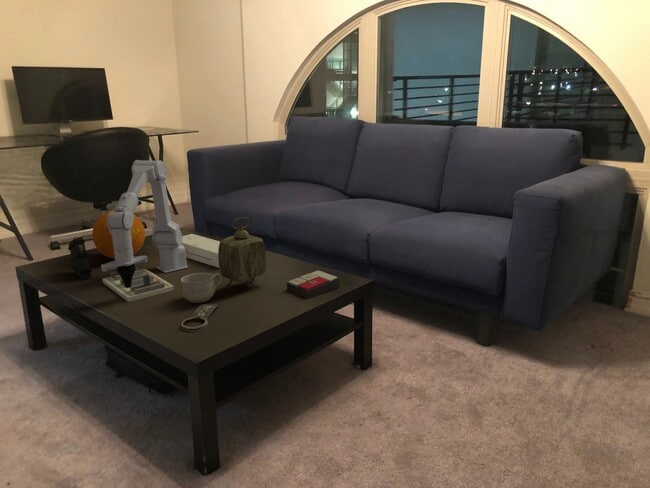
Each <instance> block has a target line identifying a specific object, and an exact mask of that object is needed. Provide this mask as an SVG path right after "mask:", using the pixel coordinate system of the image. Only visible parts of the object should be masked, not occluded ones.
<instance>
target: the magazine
mask: <svg viewBox="0 0 650 488" xmlns="http://www.w3.org/2000/svg"><path fill="white" fill-rule="evenodd" d="M85 243H86V239H84V238H83V236H81V237H75V238H73V239H72V240H71V241H70V243H69V244H68V248H67V250H68V251H69V252H70V260H71V261H72V267H71V269H72V270H73V273H74V274H75V275H77V276H78V277H79V278H80V279H82V280H83V281H85V280H90V279H91V278H92V268H90V267H91V266H90V262H89V256H90V255H89V253H88V252H87V249H86V245H85Z"/></svg>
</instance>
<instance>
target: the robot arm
mask: <svg viewBox="0 0 650 488" xmlns="http://www.w3.org/2000/svg"><path fill="white" fill-rule="evenodd" d="M131 174H132V177H131V180H130V183H129V185H128V189H127V191H126V192H123V193H122V194H121V196H120V197H119V200H118V201H117V204H116V205H115V208H114V209H113V210H114V211H112V210H111V211H112V212H111V213H109V214H108V216H107V222H106V224H107V227H108V228H109V231H110V234H111V235H112V239H113V247H114V255H115V259H114V260H113V261H110V262H106V263H103V264H101V265H100V267H101V271H102V272H108V271H110V270H115V269H116V270H117V272H118V273H119V275H120V276H121V278H122V280H123V283H124V286H125V287H126V288H130V287H131V282H132V278H133V274H134V272H135V270H136V267H137V266H136V265H138V264H142V263H148V261H149V260H148V256H147V255H145V254H144V255H139V256H134V255H133V248H132V240H131V231H130V228H131V227H132V225H133V218H134V215H135V211H136V208H137V207H138V204H139V202H140V200H139V198H138V196H139V195H140V193H141V191H142V189H143V188H144V186H145V185H146V183H147V182H148V183H149V184H150V189H151V194H152V199H153V201H152V202H153V207H154V211H155V217H156V224H154V226H153V227H152V238H151V240H152V242H153V245H155V246H156V248H158V256H159V263H160V265H158V266H156V269H158V270H160V271H161V272H162V273H165V274H166V273H171V272H175V271H179V270H184V269H187V268H189V266H188V262H187V257H186V251H185V248H184V246H183V245H182V244H181V242H182V236H183V233H182V231H181V229H180V225H179V224H177V223H176V222H175V221H173V220H172V217H171V211H170V210H171V209H170V205H169V198H168V191H167V186H166V181H167V180H168V175H167V174H168V173H167V167H166V163H165V162H163V161H162V160H161V159H159V160H140V159H136V160H134V162H133V163H132V166H131Z"/></svg>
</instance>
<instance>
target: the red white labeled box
mask: <svg viewBox="0 0 650 488" xmlns="http://www.w3.org/2000/svg"><path fill="white" fill-rule="evenodd" d="M340 287H341V286H340V277H338V276H335V275H332V274H329V273H326V272H324V271H320V270H316V271H313V272H310V273H307V274H304V275H301V276H299V277H296V278H293V279H291V280H289V281H288V282H286V290H287V291H288V292H291V293H293V294H295V295H297V296H300V295H301V296H300V297H302V298H303V297H304V298H306V299H310V298H313V296H314V297H315V296H319V295H322V294H324V293H326V292H329V291H332V290H336V289H338V288H340ZM335 288H336V289H335Z"/></svg>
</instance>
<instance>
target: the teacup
mask: <svg viewBox="0 0 650 488" xmlns="http://www.w3.org/2000/svg"><path fill="white" fill-rule="evenodd" d="M216 277H218V280H217V282H216V283H215V279H216ZM222 281H223V276H222V274H221V273H219V272H214V273H212V272H211V273H210V272H196V273H190V274H186V275H184V276H183V277H181V278H180V282H181V291H182V295H183V297H184V299H186V301H188V302H190V303H192V304H193V303H194V304H199V303H200V304H201V303H205V302H208V301H210V300H211V299H212V297H213V296H214V294H215V293H216V289H217V288H218V287H219V286H220V285H221V284H222Z"/></svg>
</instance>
